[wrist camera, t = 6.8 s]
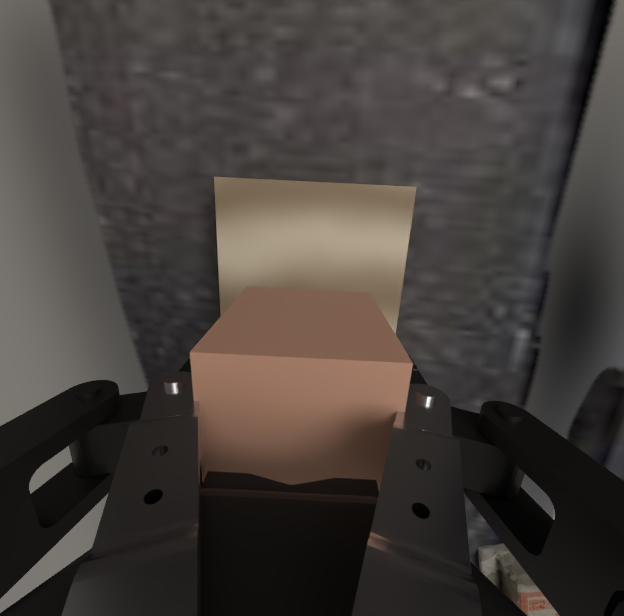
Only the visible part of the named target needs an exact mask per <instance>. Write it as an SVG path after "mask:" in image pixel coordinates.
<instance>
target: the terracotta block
mask: <svg viewBox="0 0 624 616" xmlns="http://www.w3.org/2000/svg"><path fill="white" fill-rule="evenodd" d="M190 361H191V373H192V386H193V398H194V401H199V404H200V417H201V449H202V462H203V466H204V471H205V476H206V474H207V472H208V471H215V472H235V473H250V474H253V475H257V476H260V477H264V478H267V479H271V480H274V481H278V482H281V483H285V484H289V485H295V484H301V483H307V482H313V481H319V480H324V479H330V478H350V479H370V480H376V481H377V485H378V490H380V485H381V480H382V476H383V471H384V466H385V462H386V457H387V452H388V447H389V443H390V438H391V433H392V429H393V424H394V422H395V419H396V415H397V411H399V412H405V409H406V403H407V397H408V390H409V384H410V378H411V372H412V366H413V363H412V361H411V359H410V358H409V356H408V354H407V353H406V351H405V349H404V348H403V346H402V344H401V343H400V341H399V339H398V338H397V336H396V334H395V333H394V331H393V329H392V328H391V326H390V325H389V323H388V321H387V320H386V318H385V316H384V315H383V313H382V311H381V310H380V308H379V306H378V305H377V303H376V301H375V300H374V298H373V296H372V295H371V293H370V292H349V291H329V290H309V289H289V288H269V287H249V286H247V287H246V288H245V289H244V291H243V292H242V293H241V294H240V295H239V296H238V297H237V299H236V300H235V301H234V302H233V303H232V304H231V305H230V307H229V308H228V309H227V310H226V311H225V312H224V313H223V315H222V316H221V317H220V318H219V319H218V320H217V321H216V323H215V324H214V325H213V326H212V327H211V328H210V330H209V331H208V332H207V333H206V334H205V335H204V336H203V338H202V339H201V340H200V341H199V342H198V343H197V344H196V346H195V347H194V348H193V349H192V350H191V351H190Z"/></svg>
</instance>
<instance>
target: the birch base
mask: <svg viewBox="0 0 624 616" xmlns="http://www.w3.org/2000/svg"><path fill="white" fill-rule="evenodd" d="M214 185H215V207H216V228H217V249H218V271H219V292H220V313H221V316H222V315H223V313H224V312H225V311H226V310H227V309H228V308H229V307H230V305H231V304H232V303H233V302H234V301H235V300H236V299H237V297H238V296H239V295H240V294H241V293H242V292H243V291H244V289H245V288H246V287H247V286H249V287H269V288H289V289H309V290H329V291H349V292H370V293H371V295H372V296H373V298H374V300H375V301H376V303H377V305H378V306H379V308H380V310H381V311H382V313H383V315H384V316H385V318H386V320H387V321H388V323H389V325H390V326H391V328H392V329H393V331H394V333H395V334H396V327H397V320H398V313H399V306H400V299H401V292H402V285H403V278H404V271H405V264H406V257H407V250H408V243H409V236H410V229H411V222H412V215H413V208H414V201H415V194H416V187H406V186H386V185H367V184H347V183H327V182H307V181H287V180H267V179H247V178H228V177H214Z"/></svg>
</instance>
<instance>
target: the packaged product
mask: <svg viewBox="0 0 624 616" xmlns="http://www.w3.org/2000/svg"><path fill="white" fill-rule="evenodd" d="M478 559H479V570H480V571H481V572H482V573H483V574H484V575H485V576H486V577H487V578H488V579H489V580H490V581H491V582H492V583H493V584H494V585H496V586H497V587H498V588H499V589H500V590H501V591H502V592H503V593H504V594H505V595H506V596H507V597H508V598H509V599H510V600H511V601H513V602H514V603H515V604H516V605H517V606H518V607H519V608H520V609H521V610H522V611H523V612H524V613H525V614H526V615H527V616H560V615H559V614H558V613H557V612H556V610H555V609H554V608H553V606H552V605H551V604H550V603H549V601H548V600H547V599H546V597H545V596H544V595H543V594H542V592H541V591H540V590H539V588H538V587H537V586H536V585H535V583H534V582H533V581H532V579H531V578H530V577H529V576H528V574H527V573H526V572H525V570H524V569H523V568H522V567H521V565H520V564H519V563H518V561H517V560H516V559H515V558H514V556H513V555H512V554H511V552H510V551H509V550H508V549H507V547H506V546H505V545H504V543H503V544H496V545H488V546H481V547H479V548H478Z"/></svg>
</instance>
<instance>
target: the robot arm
mask: <svg viewBox="0 0 624 616" xmlns="http://www.w3.org/2000/svg"><path fill="white" fill-rule="evenodd" d="M408 356H409V355H408ZM409 358H410V359H411V357H410V356H409ZM411 361H412V363H413V366H412V372H411V378H410V384H409V390H408V397H407V403H406V409H405V412H399V411H397V415H396V419H395V422H394V424H393V429H392V433H391V438H390V443H389V447H388V452H387V457H386V462H385V466H384V471H383V476H382V480H381V485H380V490H378V485H377V481H376V480H370V479H350V478H330V479H324V480H319V481H313V482H307V483H301V484H295V485H289V484H285V483H281V482H278V481H274V480H271V479H267V478H264V477H260V476H257V475H253V474H250V473H235V472H215V471H208V472H207V474H206V476H205V471H204V466H203V462H202V449H201V417H200V404H199V401H194V398H193V386H192V373H191V361H190V359H189V360H188V361H187V362H186V363H185V364H184V365H183V367H182V368H181V369H180V370H179V371H178V372H172V373H167V374H164V375H162V376H159V377H157V378H156V379H154V380H153V381H152V382H151V383H150V384H149V387H148V390H147V391H146V392H140V393H133V394H125V395H119V389H118V385H117V384H116V383H115V382H113V381H108V380H96V381H90V382H86V383H82V384H79V385H77V386H74V387H72V388H70V389H68V390H66V391H64V392H62V393H61V394H59V395H57V396H55V397H53V398H51V399H49V400H48V401H46V402H44V403H42V404H40V405H39V406H37V407H35V408H33V409H31V410H29V411H27V412H26V413H24V414H22V415H20V416H18V417H16V418H15V419H13V420H11V421H9V422H7V423H6V424H4V425H2V426H0V598H1V597H2V596H3V595H4V594H5V593H7V592H8V591H9V590H10V588H12V587H13V586H14V584H16V583H17V582H18V581H19V580H20V579H21V578H22V577H23V576H24V575H25V574H26V573H27V572H28V571H29V570H30V569H31V568H32V567H33V566H34V565H35V564H36V563H37V562H38V561H39V560H40V559H41V558H42V557H43V556H44V555H45V554H46V553H47V552H48V551H49V550H50V549H51V548H53V547H54V546H55V545H56V544H57V543H58V542H59V541H60V540H61V539H62V538H63V537H64V536H65V535H66V534H67V533H68V532H69V531H70V530H71V529H72V528H73V527H74V526H75V525H76V524H77V523H78V522H79V521H80V520H81V519H82V518H83V517H84V516H85V515H86V514H87V513H88V512H89V511H90V510H91V509H92V508H93V507H94V506H95V505H96V504H97V503H99V502H100V501H101V499H102V498H104V496H106V495H107V494H108V493H109V494H108V497H107V500H106V504H105V507H104V510H103V514H102V517H101V520H100V524H99V527H98V530H97V534H96V537H95V540H94V543H93V547H92V548H91V549H90V550H89V551H87V552H86V553H84V554H83V555H82V556H80V557H79V558H77V559H76V560H75V561H73V562H72V563H71V564H69V565H68V566H66V567H65V568H63V569H62V570H61V571H59V572H58V573H57V574H55V575H54V576H52V577H51V578H49V579H48V580H46V581H45V582H44V583H42V584H41V585H39V586H38V587H37V588H35V589H34V590H32V591H31V592H30V593H28V594H27V595H25V596H24V597H23V598H21V599H20V600H19V601H17V602H16V603H14V604H13V605H11V606H10V607H9V608H7V609H6V610H4V611H3V612H2V613H0V616H527V615H526V614H525V613H524V612H523V611H522V610H521V609H520V608H519V607H518V606H517V605H516V604H515V603H514V602H513V601H511V600H510V599H509V598H508V597H507V596H506V595H505V594H504V593H503V592H502V591H501V590H500V589H499V588H498V587H497V586H496V585H494V584H493V583H492V582H491V581H490V580H489V579H488V578H487V577H486V576H485V575H484V574H483V573H482V572H481V571H480V570H479V569H477V568H476V567H475V566H474V565H473V564H472V563H471V562H470V552H469V541H468V530H467V519H466V508H465V497H464V493H465V494H466V496H467V497H468V498H469V500H470V501H471V502H472V504H473V505H474V506H475V507H476V509H477V510H478V511H479V513H480V514H481V515H482V516H483V518H484V519H485V520H486V522H487V523H488V524H489V525H490V527H491V528H492V529H493V531H494V532H495V533H496V534H497V536H498V537H499V538H500V540H501V541H502V542H503V543H504V545H505V546H506V547H507V549H508V550H509V551H510V552H511V554H512V555H513V556H514V558H515V559H516V560H517V561H518V563H519V564H520V565H521V567H522V568H523V569H524V570H525V572H526V573H527V574H528V576H529V577H530V578H531V579H532V581H533V582H534V583H535V585H536V586H537V587H538V588H539V590H540V591H541V592H542V594H543V595H544V596H545V597H546V599H547V600H548V601H549V603H550V604H551V605H552V606H553V608H554V609H555V610H556V612H557V613H558V614H559V615H560V616H624V481H623V480H621V479H620V478H619V477H617V476H616V475H615V474H613V473H612V472H610V471H609V470H608V469H606V468H605V467H603V466H602V465H601V464H599V463H598V462H597V461H595V460H594V459H592V458H591V457H590V456H588V455H587V454H586V453H584V452H583V451H581V450H580V449H579V448H577V447H576V446H574V445H573V444H572V443H570V442H569V441H568V440H566V439H565V438H563V437H562V436H561V435H559V434H558V433H557V432H555V431H553V430H552V429H551V428H549V427H548V426H547V425H545V424H544V423H543V422H541V421H540V420H539V419H537V418H536V417H534V416H533V415H531V414H530V413H529V412H527V411H526V410H524V409H522V408H520V407H518V406H515V405H513V404H510V403H506V402H501V401H488V402H485V403H484V404H483V405H482V406H481V410H480V414H478V413H474V412H470V411H466V410H462V409H458V408H455V407H452V406H451V403H450V399H449V397H448V396H447V395H446V394H445V393H444V392H442V391H441V390H439V389H437V388H435V387H432V386H429V385H427V383H426V382H425V380H424V378H423V377H422V375H421V374H420V372H419V371H418V369H417V367H416V365H414V362H413V360H412V359H411ZM67 446H69V448H70V452H71V456H72V461H73V462H72V463H70V464H69V465H68V466H66V467H65V468H64V469H62V470H61V471H60V472H59V473H57V474H56V475H55V476H53V477H52V478H51V479H50V480H48V481H47V482H46V483H45V484H43V485H42V486H41V487H39V488H38V489H37V490H35V491H34V492H33V493H32V494H30V491H29V482H30V480H31V477H32V475H33V474H34V473H35V471H36V470H37V469H38V468H39V467H40V466H41V465H42V464H43V463H45V462H46V461H48V460H49V459H51V458H52V457H53V456H55V455H56V454H58V453H59V452H60V451H62V450H63V449H64V448H66V447H67ZM524 474H526V475H527V476H528V477H529V478H531V479H532V480H533V481H534V482H535V483H536V484H537V485H538V486H539V487H540V488H541V489H542V490H543V491H544V492H545V493H546V494H547V495H548V496H549V498H550V500H551V501H552V503H553V506H554V509H555V519H554V520H553V519H552V518H551V517H550V516H549V515H548V514H547V513H546V512H545V511H544V510H543V509H542V508H541V507H540V506H539V505H538V504H537V503H536V502H535V501H534V500H533V499H532V498H531V497H530V496H529V495H528V494H527V493H526V492H525V491H524V490H523V489H522V488H521V483H522V480H523V477H524Z"/></svg>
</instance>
